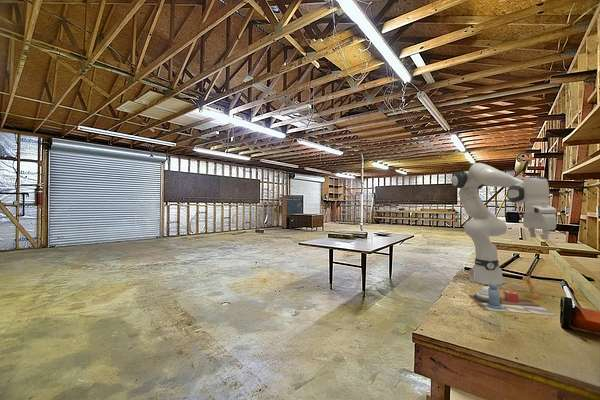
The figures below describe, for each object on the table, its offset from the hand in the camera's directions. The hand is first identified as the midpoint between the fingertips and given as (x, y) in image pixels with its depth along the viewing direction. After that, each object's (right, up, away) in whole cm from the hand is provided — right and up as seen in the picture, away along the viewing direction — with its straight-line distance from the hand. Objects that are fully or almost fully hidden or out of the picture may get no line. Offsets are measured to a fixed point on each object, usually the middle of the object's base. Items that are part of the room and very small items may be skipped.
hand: (538, 238), depth 128 cm
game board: (-19, -31, -5) cm, 37 cm away
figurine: (0, -31, +3) cm, 32 cm away
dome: (-24, -29, +2) cm, 37 cm away
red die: (-14, -30, -1) cm, 33 cm away
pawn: (-28, -30, -9) cm, 41 cm away
